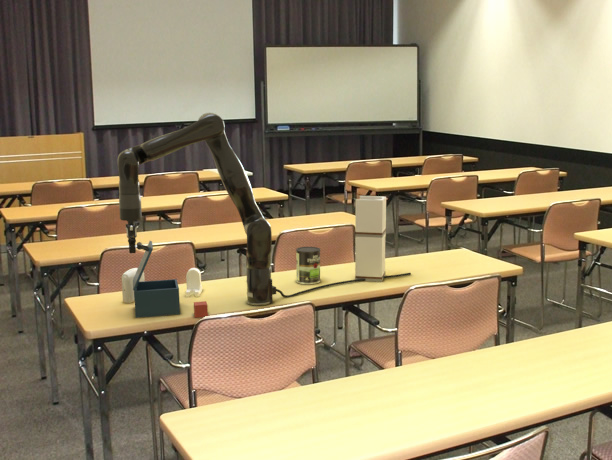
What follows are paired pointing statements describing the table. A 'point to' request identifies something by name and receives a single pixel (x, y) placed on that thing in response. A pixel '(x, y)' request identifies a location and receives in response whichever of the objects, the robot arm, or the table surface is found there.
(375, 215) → the tall white pillar box
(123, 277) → the photo printer
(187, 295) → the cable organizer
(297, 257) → the coffee can
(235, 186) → the robot arm
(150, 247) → the freezer lid
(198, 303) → the block
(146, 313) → the box
